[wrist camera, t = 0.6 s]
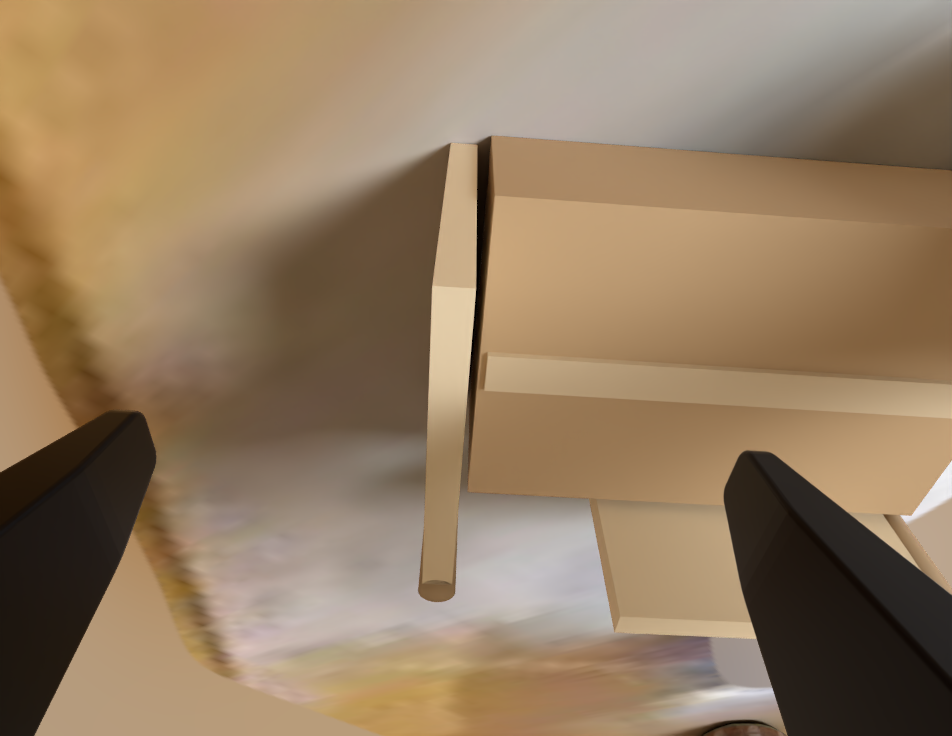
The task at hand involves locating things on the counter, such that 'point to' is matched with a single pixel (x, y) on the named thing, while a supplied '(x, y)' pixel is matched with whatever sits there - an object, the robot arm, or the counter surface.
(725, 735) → the sauce bottle
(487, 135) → the counter surface
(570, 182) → the carton
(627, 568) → the side flap
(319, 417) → the counter surface
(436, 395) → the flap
